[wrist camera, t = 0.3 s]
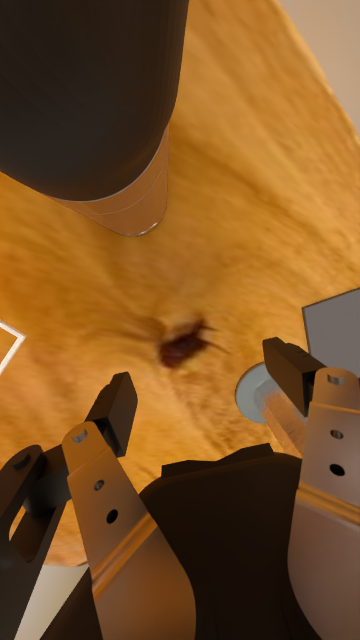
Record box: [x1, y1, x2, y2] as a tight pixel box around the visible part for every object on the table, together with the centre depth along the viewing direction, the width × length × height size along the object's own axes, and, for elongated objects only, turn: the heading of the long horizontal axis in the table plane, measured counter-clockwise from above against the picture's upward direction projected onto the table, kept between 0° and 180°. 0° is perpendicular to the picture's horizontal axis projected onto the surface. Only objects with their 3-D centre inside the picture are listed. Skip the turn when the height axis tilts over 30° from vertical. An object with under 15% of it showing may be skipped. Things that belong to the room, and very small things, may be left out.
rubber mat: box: [302, 288, 360, 378], centre depth 33 cm, size 16×16×1 cm
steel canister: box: [254, 379, 308, 459], centre depth 27 cm, size 6×6×15 cm
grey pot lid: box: [235, 362, 273, 423], centre depth 34 cm, size 12×12×3 cm
